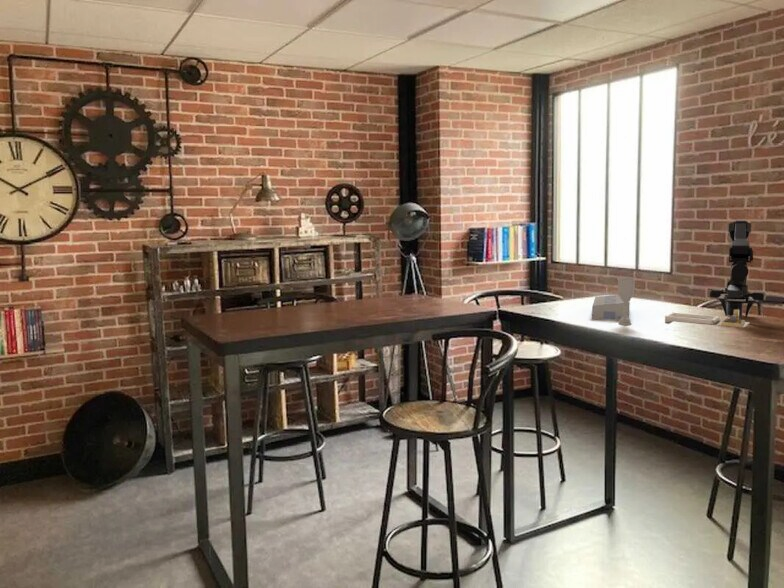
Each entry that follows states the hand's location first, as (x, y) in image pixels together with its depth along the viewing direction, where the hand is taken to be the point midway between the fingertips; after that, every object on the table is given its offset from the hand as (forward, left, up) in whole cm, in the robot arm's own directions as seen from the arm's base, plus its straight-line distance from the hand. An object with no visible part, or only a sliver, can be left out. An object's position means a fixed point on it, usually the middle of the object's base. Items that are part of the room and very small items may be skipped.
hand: (736, 316), depth 255 cm
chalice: (+23, -35, -3) cm, 43 cm away
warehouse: (+1, -48, -4) cm, 48 cm away
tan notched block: (+5, 0, -2) cm, 5 cm away
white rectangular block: (+5, 0, -3) cm, 6 cm away
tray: (+5, -15, -3) cm, 16 cm away
